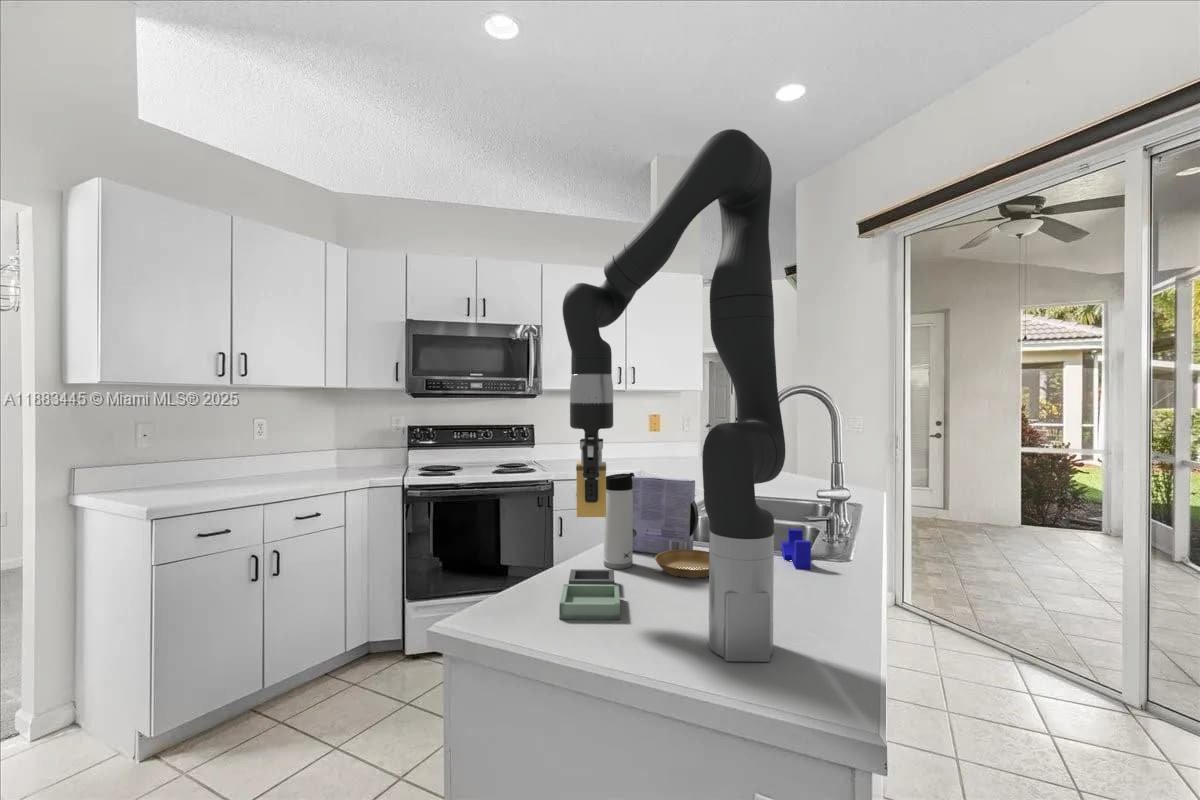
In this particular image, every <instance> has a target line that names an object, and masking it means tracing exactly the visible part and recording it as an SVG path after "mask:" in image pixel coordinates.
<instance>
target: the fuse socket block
mask: <svg viewBox="0 0 1200 800" xmlns="http://www.w3.org/2000/svg"><path fill="white" fill-rule="evenodd" d="M568 584H596V585H615V569H591V568H590V569H588V568H587V569H583V568H582V569H580V568H577V569H570V572H569V577H568Z"/></svg>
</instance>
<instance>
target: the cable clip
mask: <svg viewBox="0 0 1200 800" xmlns="http://www.w3.org/2000/svg"><path fill="white" fill-rule="evenodd" d="M803 537H804V536H803V529H800V528H798V529H797V528H788V529H787V541H785V540H784V541H783V540H782V541H781V543H780V553H781V552H782V554H781V556H782V559H783V560H784V561H785V560H792V561H791V562H793V563H792V565H793V566H794V568H795V570H805V571H811V568H812V567H811V566H812V563H811V562H812V560H811V556H812V551H811V549H812V543H811V540H803V539H804V538H803Z"/></svg>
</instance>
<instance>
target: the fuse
mask: <svg viewBox="0 0 1200 800" xmlns="http://www.w3.org/2000/svg"><path fill="white" fill-rule="evenodd" d="M575 471H576V518H604V517H606V476H607V462H606V461H602V462H601V466H599V480H598V501H597V502H596V503H587V502H586V501H585V480H584V478H583V473H584V470H583V466H582V464H581V461H578V462H577V463H576V466H575ZM587 471H595V466H588V467H587Z"/></svg>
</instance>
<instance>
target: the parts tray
mask: <svg viewBox="0 0 1200 800" xmlns="http://www.w3.org/2000/svg"><path fill="white" fill-rule="evenodd" d="M620 598H621V597H620V586H619V584H614V585H596V584H569V583H567V584H565V583H564V584H563V586H562V591H561V597H560V600H559V604H558V605H559V608H558V609H559V614H558V615H559V617H558V619H559V620H602V621H603V620H605V621H606V620H610V621H611V620H613V621H615V620H616V621H617V620H618V621H619V620H621V617H620V616H621V600H620Z"/></svg>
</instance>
